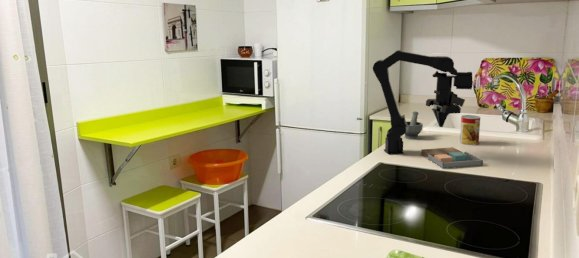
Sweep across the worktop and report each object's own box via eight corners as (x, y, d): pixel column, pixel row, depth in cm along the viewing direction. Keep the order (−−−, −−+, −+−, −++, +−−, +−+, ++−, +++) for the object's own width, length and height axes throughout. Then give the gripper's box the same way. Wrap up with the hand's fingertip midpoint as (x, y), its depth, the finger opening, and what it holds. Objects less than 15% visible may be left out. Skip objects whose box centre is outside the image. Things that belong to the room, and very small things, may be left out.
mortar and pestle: (417, 141, 207) (418, 115, 204) (398, 138, 212) (398, 113, 209) (425, 136, 216) (426, 111, 213) (406, 133, 221) (406, 109, 218)
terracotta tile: (440, 163, 172) (440, 158, 171) (434, 159, 177) (434, 154, 176) (452, 162, 173) (452, 157, 172) (445, 158, 177) (445, 153, 177)
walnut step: (429, 159, 179) (430, 154, 178) (421, 153, 186) (421, 149, 186) (462, 156, 181) (462, 152, 180) (452, 151, 188) (452, 147, 188)
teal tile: (455, 160, 174) (455, 156, 174) (448, 157, 179) (448, 152, 179) (466, 160, 175) (467, 155, 175) (460, 156, 180) (460, 151, 180)
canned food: (480, 145, 197) (482, 118, 194) (461, 144, 198) (462, 118, 196) (476, 140, 204) (478, 115, 202) (458, 140, 206) (459, 114, 203)
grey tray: (442, 168, 167) (442, 163, 166) (427, 159, 178) (428, 154, 178) (482, 165, 169) (482, 160, 169) (465, 156, 181) (465, 151, 180)
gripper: (475, 91, 171) (471, 131, 174) (451, 85, 189) (448, 121, 192) (447, 92, 169) (444, 132, 173) (426, 85, 187) (424, 122, 191)
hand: (441, 126), depth 182 cm, fingers closed
